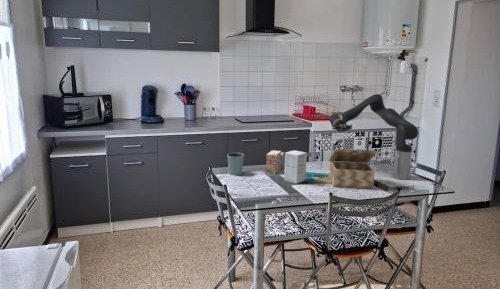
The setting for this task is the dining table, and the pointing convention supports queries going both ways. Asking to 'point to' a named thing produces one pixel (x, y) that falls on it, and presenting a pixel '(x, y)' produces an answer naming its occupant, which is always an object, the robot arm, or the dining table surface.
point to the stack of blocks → (274, 161)
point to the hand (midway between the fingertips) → (344, 129)
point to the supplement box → (295, 166)
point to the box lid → (352, 155)
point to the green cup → (235, 163)
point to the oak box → (351, 175)
